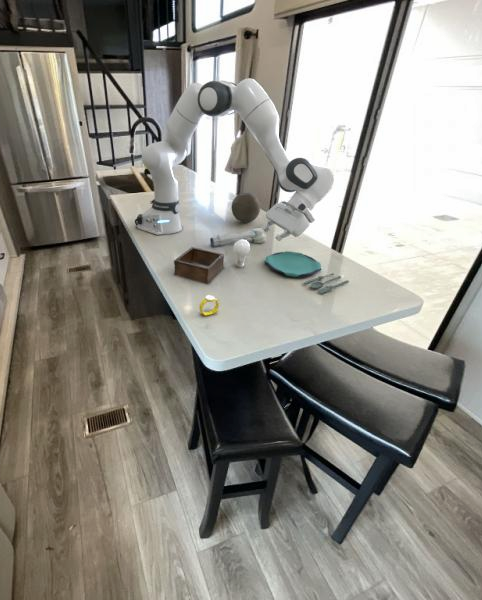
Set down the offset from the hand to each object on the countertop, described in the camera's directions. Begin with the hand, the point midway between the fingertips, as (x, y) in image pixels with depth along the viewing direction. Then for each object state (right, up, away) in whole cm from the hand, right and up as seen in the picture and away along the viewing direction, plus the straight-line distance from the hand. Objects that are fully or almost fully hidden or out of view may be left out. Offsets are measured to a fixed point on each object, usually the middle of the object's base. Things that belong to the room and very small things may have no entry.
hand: (270, 235), depth 121 cm
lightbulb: (-11, -12, +2) cm, 17 cm away
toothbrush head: (-9, 0, +21) cm, 23 cm away
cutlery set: (+11, -15, -1) cm, 18 cm away
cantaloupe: (-3, +15, +44) cm, 47 cm away
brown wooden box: (-27, -14, -1) cm, 31 cm away
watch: (-25, -29, -24) cm, 45 cm away
